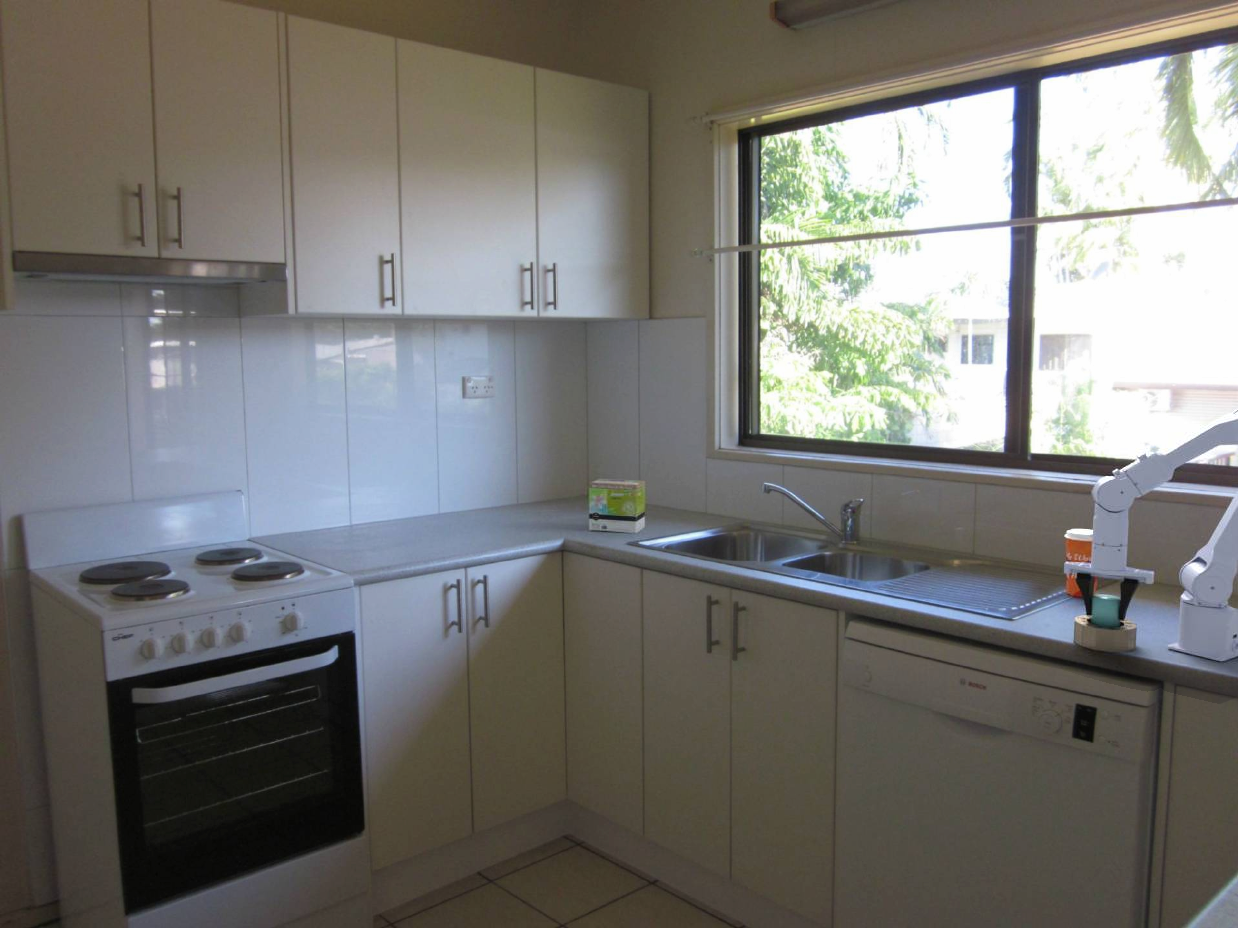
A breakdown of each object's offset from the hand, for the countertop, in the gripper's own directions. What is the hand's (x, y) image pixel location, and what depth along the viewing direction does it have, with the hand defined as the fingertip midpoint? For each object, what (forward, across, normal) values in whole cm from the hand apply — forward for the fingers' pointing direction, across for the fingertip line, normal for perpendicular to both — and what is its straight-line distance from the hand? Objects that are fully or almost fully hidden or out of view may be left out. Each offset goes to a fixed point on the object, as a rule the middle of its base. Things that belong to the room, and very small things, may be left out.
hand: (1105, 616), depth 179 cm
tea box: (+5, +141, -40) cm, 147 cm away
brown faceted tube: (+5, 0, 0) cm, 5 cm away
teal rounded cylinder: (+1, 0, 0) cm, 1 cm away
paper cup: (+5, +11, -36) cm, 38 cm away
